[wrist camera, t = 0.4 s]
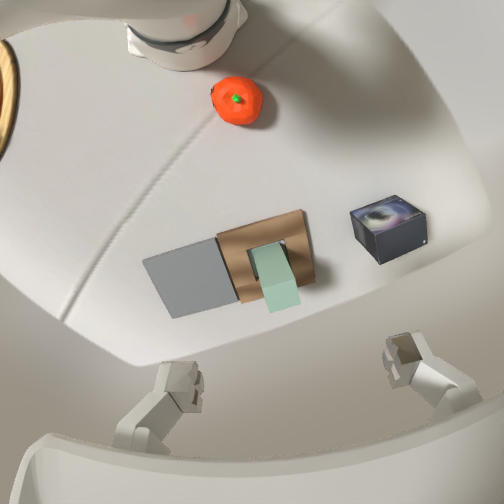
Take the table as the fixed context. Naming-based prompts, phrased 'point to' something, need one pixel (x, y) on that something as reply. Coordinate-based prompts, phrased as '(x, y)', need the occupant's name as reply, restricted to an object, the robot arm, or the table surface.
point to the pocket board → (261, 234)
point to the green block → (276, 278)
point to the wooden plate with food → (7, 92)
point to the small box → (389, 228)
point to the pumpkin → (237, 100)
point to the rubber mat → (191, 278)
